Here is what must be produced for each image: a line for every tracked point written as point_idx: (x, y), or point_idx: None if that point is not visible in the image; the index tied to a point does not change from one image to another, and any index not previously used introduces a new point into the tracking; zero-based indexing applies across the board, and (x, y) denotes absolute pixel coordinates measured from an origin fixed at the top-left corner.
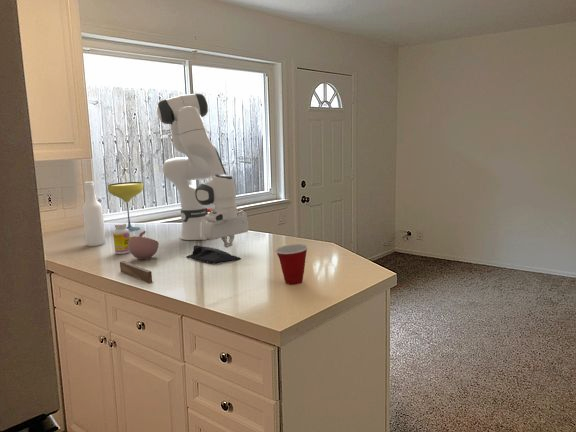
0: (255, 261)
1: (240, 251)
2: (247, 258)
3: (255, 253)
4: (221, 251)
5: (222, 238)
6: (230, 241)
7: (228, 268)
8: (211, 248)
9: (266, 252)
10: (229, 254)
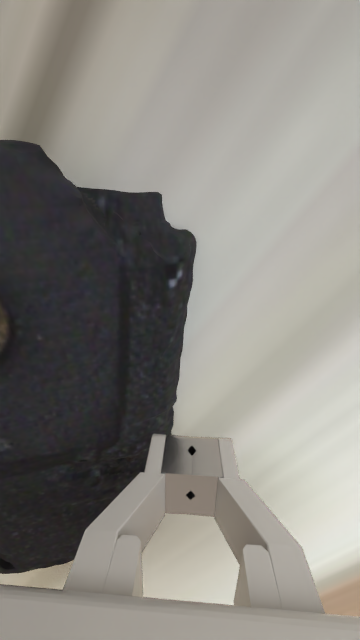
0: (169, 597)
1: (297, 414)
2: (184, 547)
3: (302, 520)
4: (97, 431)
5: (82, 564)
6: (218, 511)
7: (8, 578)
8: (58, 301)
9: (356, 550)
10: (143, 460)
